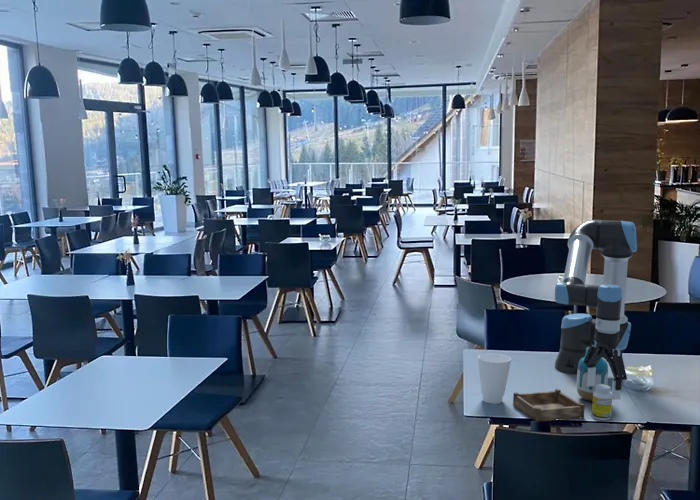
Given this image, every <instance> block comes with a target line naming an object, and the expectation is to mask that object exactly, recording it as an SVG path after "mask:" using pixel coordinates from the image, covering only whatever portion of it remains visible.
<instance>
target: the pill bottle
mask: <svg viewBox="0 0 700 500" xmlns="http://www.w3.org/2000/svg"><path fill="white" fill-rule="evenodd" d="M611 396H612V392H611V386H609V385H608V384H607V385H604V384H598V385H596V391H595V392H594V393H593V401H591V402H592V405H591V417H592V418H594V419H596V420H599V421H604V422H605V421H609V420H611V418H612V406H613V399H611Z"/></svg>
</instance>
